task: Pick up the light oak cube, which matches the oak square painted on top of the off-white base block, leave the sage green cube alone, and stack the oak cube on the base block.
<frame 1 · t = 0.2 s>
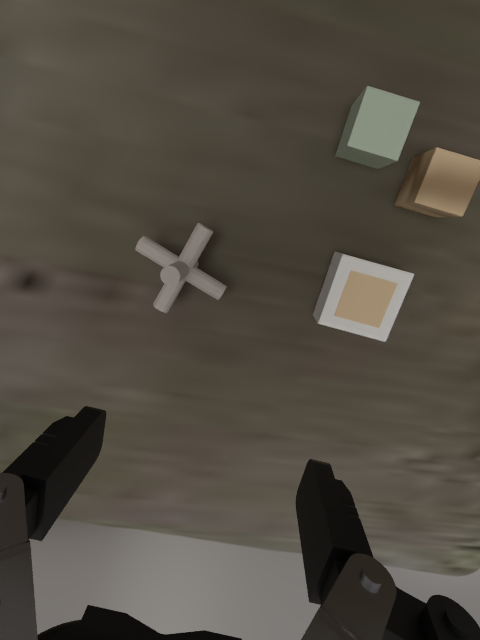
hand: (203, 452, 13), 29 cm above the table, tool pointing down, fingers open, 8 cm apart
white base: (354, 292, 40), on the table
sage block: (365, 138, 35), on the table
oak block: (424, 188, 36), on the table
pipe connector: (191, 263, 39), on the table
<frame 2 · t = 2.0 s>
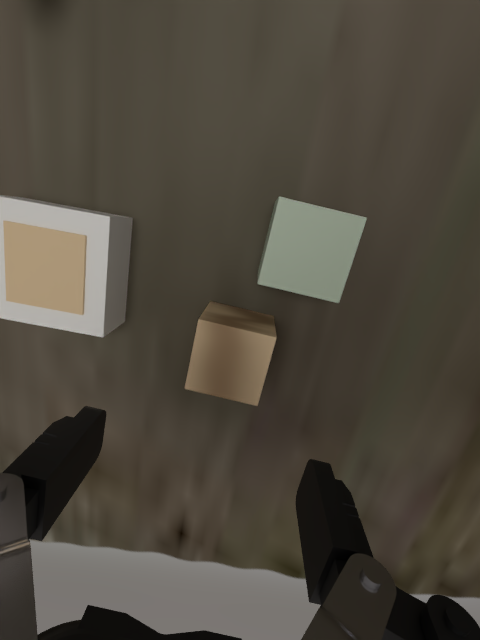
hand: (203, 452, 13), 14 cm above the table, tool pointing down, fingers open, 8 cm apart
white base: (79, 262, 25), on the table
sage block: (299, 246, 23), on the table
oak block: (235, 337, 26), on the table
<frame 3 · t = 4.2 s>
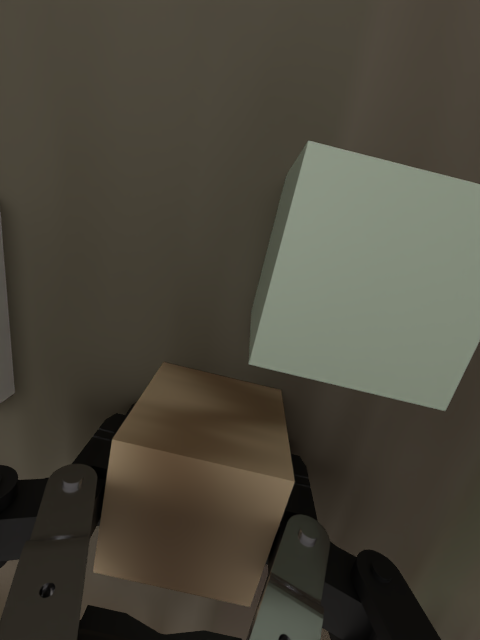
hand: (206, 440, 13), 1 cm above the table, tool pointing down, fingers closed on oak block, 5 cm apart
sage block: (333, 263, 12), on the table
oak block: (210, 426, 14), on the table, touching gripper
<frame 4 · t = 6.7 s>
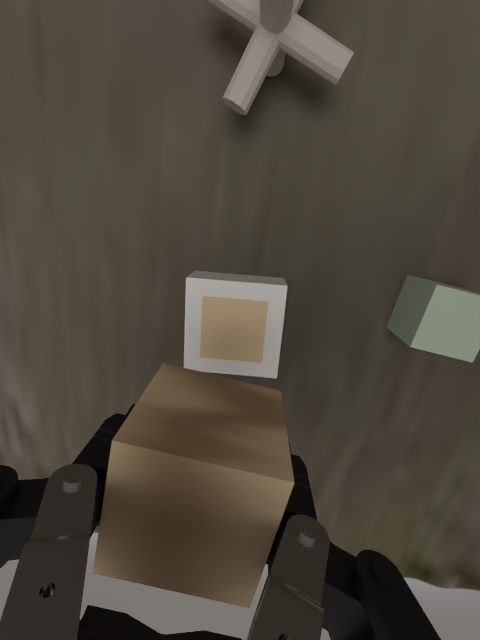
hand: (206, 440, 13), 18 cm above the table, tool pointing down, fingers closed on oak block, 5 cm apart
white base: (236, 316, 30), on the table
sage block: (423, 308, 29), on the table
oak block: (209, 427, 14), point 17 cm above the table, touching gripper
pipe connector: (271, 63, 25), on the table
when the fingers open (7 cm above the table, at t = 9.6 s): oak block drops 2 cm, point 4 cm above the table.
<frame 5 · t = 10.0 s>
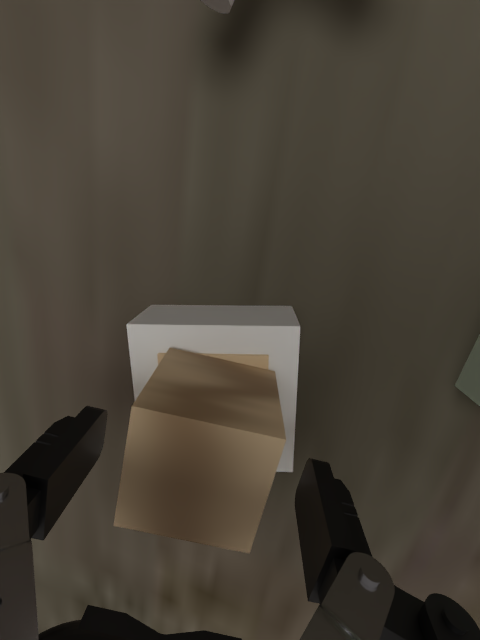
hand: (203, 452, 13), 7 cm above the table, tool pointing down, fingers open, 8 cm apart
white base: (222, 367, 20), on the table
oak block: (211, 405, 16), point 4 cm above the table
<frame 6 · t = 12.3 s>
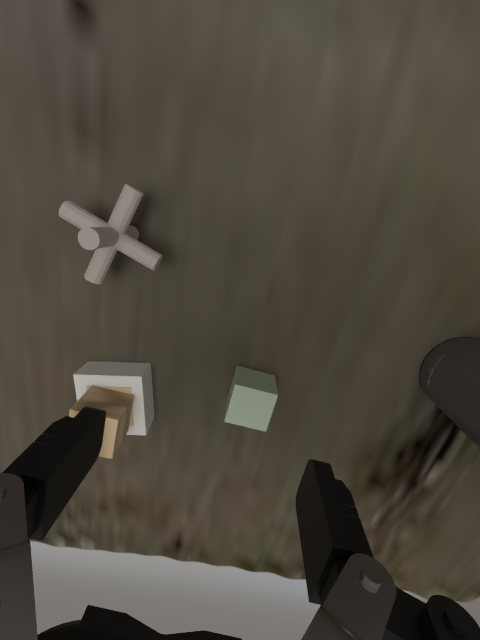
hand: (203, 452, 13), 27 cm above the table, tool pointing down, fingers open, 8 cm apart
white base: (123, 389, 43), on the table, touching oak block
sage block: (250, 387, 42), on the table
oak block: (110, 408, 39), point 4 cm above the table, touching white base
pipe connector: (131, 233, 37), on the table
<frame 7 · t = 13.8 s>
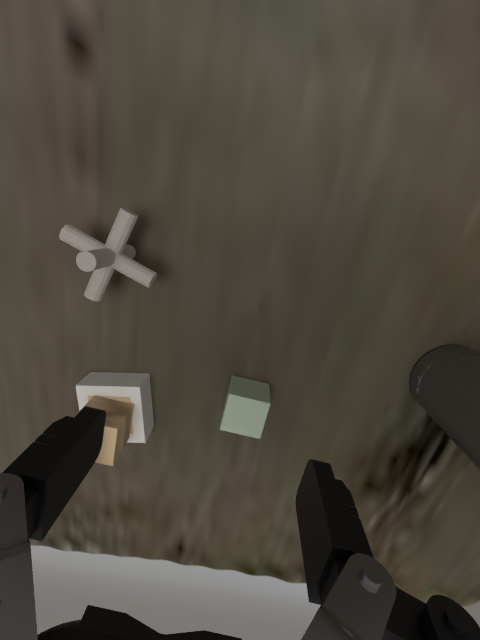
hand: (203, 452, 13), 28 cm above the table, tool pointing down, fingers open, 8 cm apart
white base: (123, 398, 45), on the table
sage block: (245, 395, 43), on the table
oak block: (111, 417, 41), point 4 cm above the table
pipe connector: (129, 251, 39), on the table
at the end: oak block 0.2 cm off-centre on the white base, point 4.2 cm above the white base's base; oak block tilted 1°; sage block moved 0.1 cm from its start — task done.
